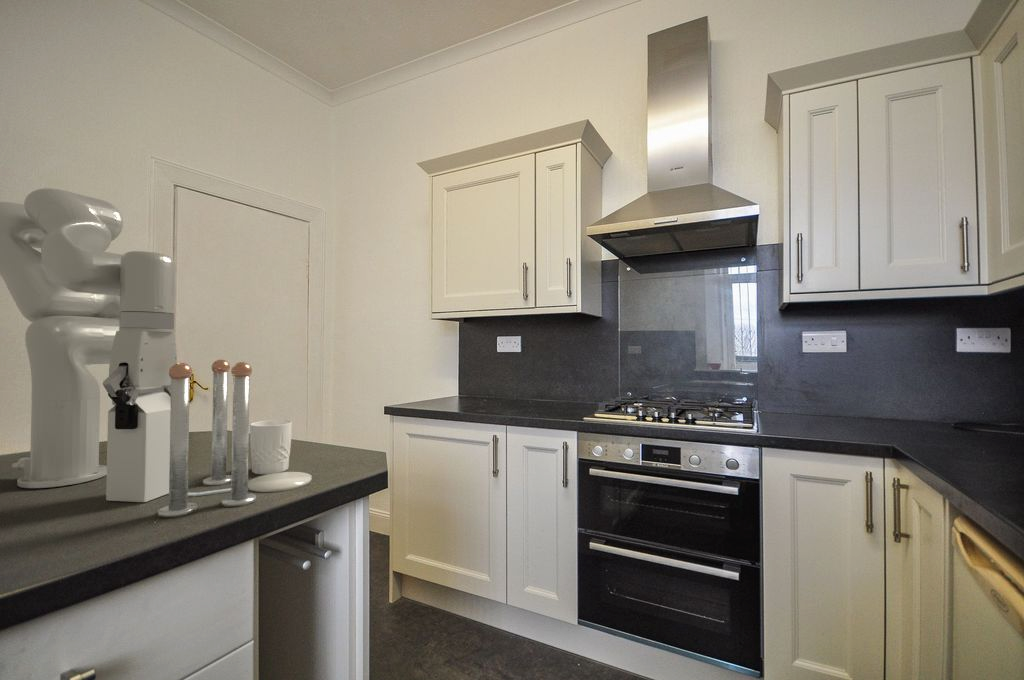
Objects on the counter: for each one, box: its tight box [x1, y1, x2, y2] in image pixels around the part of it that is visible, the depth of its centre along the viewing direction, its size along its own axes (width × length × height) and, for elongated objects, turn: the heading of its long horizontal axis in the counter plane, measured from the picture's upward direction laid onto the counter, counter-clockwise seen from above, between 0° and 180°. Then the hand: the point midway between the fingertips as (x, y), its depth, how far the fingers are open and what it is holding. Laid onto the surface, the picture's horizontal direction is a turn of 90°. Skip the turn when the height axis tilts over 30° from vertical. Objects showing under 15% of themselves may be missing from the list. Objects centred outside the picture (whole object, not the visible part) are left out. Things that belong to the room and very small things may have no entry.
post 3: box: [221, 361, 257, 508], centre depth 77 cm, size 5×5×24 cm
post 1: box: [157, 362, 198, 519], centre depth 72 cm, size 5×5×24 cm
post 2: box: [202, 359, 231, 487], centre depth 88 cm, size 5×5×24 cm
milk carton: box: [105, 387, 171, 503], centre depth 79 cm, size 7×7×19 cm
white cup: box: [249, 419, 293, 475], centre depth 96 cm, size 8×8×10 cm
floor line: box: [188, 487, 231, 497], centre depth 81 cm, size 11×2×1 cm, turn 112°
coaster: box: [248, 471, 313, 493], centre depth 87 cm, size 11×11×1 cm
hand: (145, 423), depth 79 cm, fingers closed on milk carton, 7 cm apart
